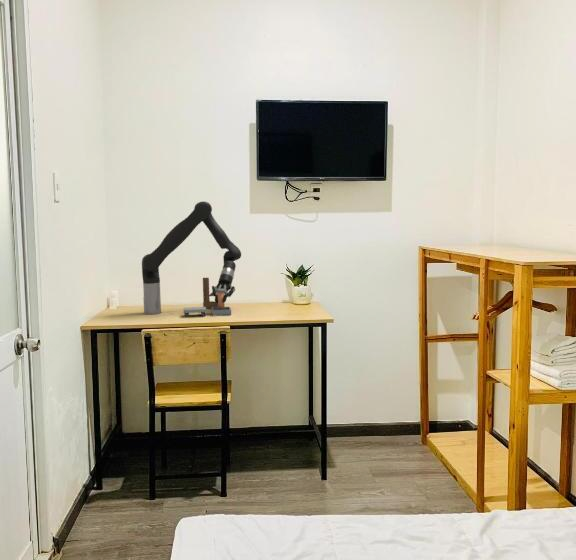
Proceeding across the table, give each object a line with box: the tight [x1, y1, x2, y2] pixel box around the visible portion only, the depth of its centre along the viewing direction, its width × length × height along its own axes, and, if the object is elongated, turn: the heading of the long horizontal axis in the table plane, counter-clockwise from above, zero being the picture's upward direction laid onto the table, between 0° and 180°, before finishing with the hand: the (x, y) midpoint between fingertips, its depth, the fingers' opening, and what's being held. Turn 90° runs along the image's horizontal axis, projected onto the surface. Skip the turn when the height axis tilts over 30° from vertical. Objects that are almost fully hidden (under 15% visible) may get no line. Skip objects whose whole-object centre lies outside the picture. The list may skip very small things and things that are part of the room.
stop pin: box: [216, 289, 226, 310], centre depth 325 cm, size 5×5×11 cm
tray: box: [211, 306, 232, 316], centre depth 326 cm, size 10×10×3 cm
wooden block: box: [202, 277, 218, 309], centre depth 346 cm, size 4×11×18 cm, turn 101°
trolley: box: [183, 306, 207, 318], centre depth 322 cm, size 12×8×4 cm, turn 100°
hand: (219, 301), depth 323 cm, fingers closed on stop pin, 3 cm apart
